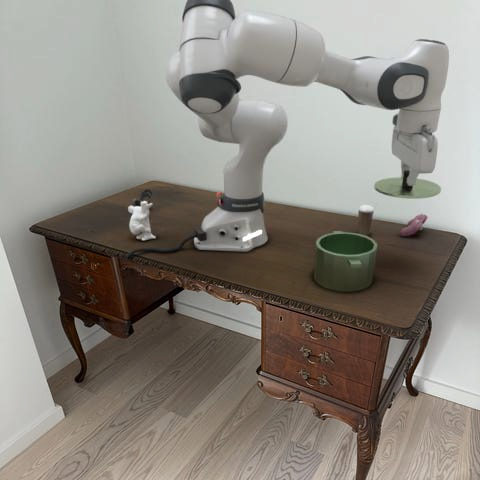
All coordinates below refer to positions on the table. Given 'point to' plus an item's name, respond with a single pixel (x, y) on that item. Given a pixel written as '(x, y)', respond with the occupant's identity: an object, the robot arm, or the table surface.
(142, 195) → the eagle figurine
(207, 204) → the table surface
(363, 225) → the milkshake
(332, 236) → the pot
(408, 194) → the lid
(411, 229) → the video game controller
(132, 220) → the koala figurine
